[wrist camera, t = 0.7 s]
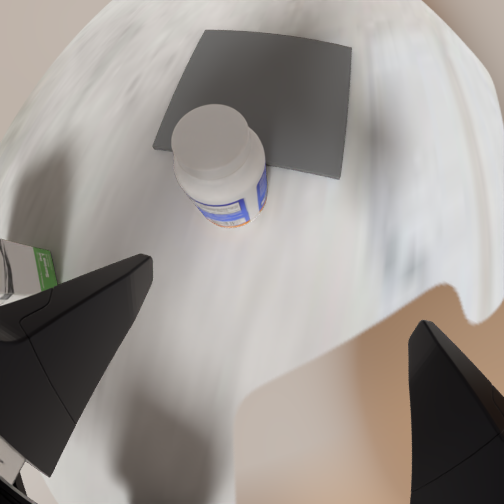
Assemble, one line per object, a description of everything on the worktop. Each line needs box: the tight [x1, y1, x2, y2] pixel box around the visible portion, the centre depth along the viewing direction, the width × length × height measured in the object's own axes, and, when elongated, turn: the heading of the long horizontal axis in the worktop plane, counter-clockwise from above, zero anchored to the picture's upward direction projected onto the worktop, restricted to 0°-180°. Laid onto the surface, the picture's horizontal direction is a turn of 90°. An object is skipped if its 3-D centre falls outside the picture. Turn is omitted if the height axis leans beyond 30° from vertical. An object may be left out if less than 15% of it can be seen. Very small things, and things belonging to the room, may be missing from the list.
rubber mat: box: [153, 30, 352, 180], centre depth 25 cm, size 16×16×1 cm
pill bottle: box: [171, 104, 267, 228], centre depth 19 cm, size 5×5×10 cm
